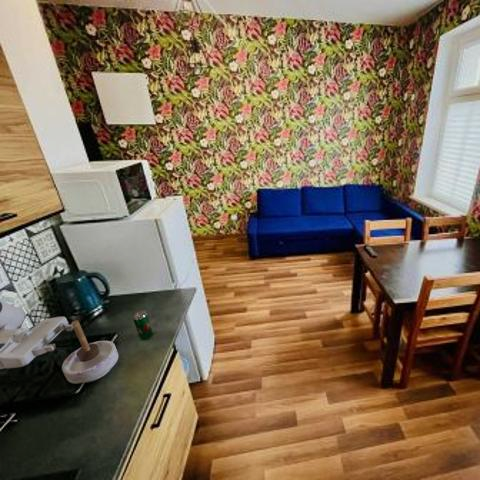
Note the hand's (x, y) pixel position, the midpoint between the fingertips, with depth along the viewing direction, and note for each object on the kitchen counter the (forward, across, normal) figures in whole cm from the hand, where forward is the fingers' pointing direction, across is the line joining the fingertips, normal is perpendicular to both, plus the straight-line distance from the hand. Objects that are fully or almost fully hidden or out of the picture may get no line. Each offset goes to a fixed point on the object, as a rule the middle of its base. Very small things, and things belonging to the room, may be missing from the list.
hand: (64, 336), depth 91 cm
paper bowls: (+5, 0, -18) cm, 18 cm away
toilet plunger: (+5, 0, -10) cm, 11 cm away
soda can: (+16, -17, -18) cm, 29 cm away
